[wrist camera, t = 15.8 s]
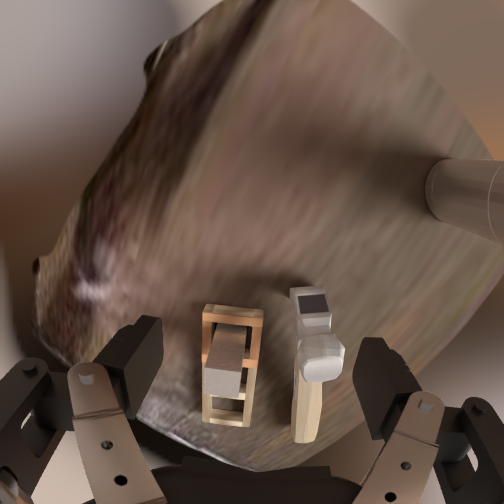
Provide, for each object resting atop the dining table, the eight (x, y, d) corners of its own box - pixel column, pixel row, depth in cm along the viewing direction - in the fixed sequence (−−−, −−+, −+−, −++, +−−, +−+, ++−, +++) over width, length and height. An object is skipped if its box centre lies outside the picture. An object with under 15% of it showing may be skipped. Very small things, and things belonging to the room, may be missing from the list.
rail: (263, 309, 42) (263, 319, 39) (250, 417, 47) (249, 428, 45) (206, 303, 42) (202, 312, 39) (205, 411, 48) (202, 422, 45)
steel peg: (247, 320, 42) (241, 372, 31) (245, 343, 43) (238, 398, 32) (219, 317, 42) (204, 367, 31) (218, 340, 43) (203, 393, 32)
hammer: (321, 467, 39) (350, 352, 24) (292, 470, 39) (297, 358, 25) (312, 396, 52) (322, 262, 38) (288, 398, 53) (286, 264, 38)
